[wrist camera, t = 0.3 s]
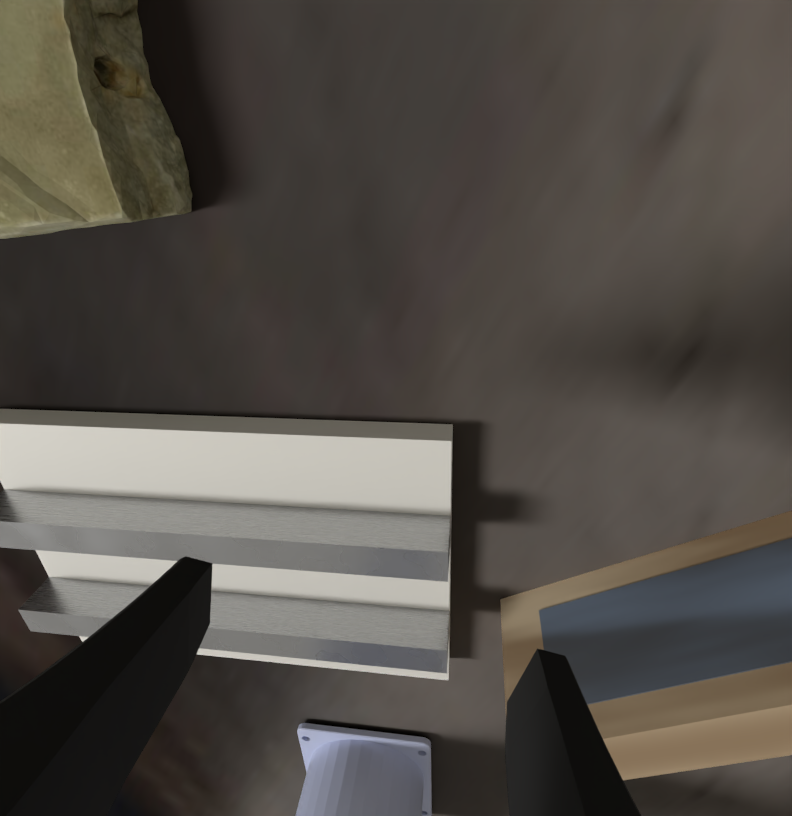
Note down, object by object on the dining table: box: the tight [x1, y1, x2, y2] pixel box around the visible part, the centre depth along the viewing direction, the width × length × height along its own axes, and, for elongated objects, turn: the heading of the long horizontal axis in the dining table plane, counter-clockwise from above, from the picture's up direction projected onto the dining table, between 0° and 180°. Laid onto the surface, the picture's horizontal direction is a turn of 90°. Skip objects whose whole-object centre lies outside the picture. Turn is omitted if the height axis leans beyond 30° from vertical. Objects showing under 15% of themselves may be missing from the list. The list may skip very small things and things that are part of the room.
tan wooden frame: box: [500, 511, 792, 780], centre depth 19 cm, size 3×14×7 cm, turn 122°
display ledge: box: [0, 409, 453, 680], centre depth 23 cm, size 14×20×3 cm
